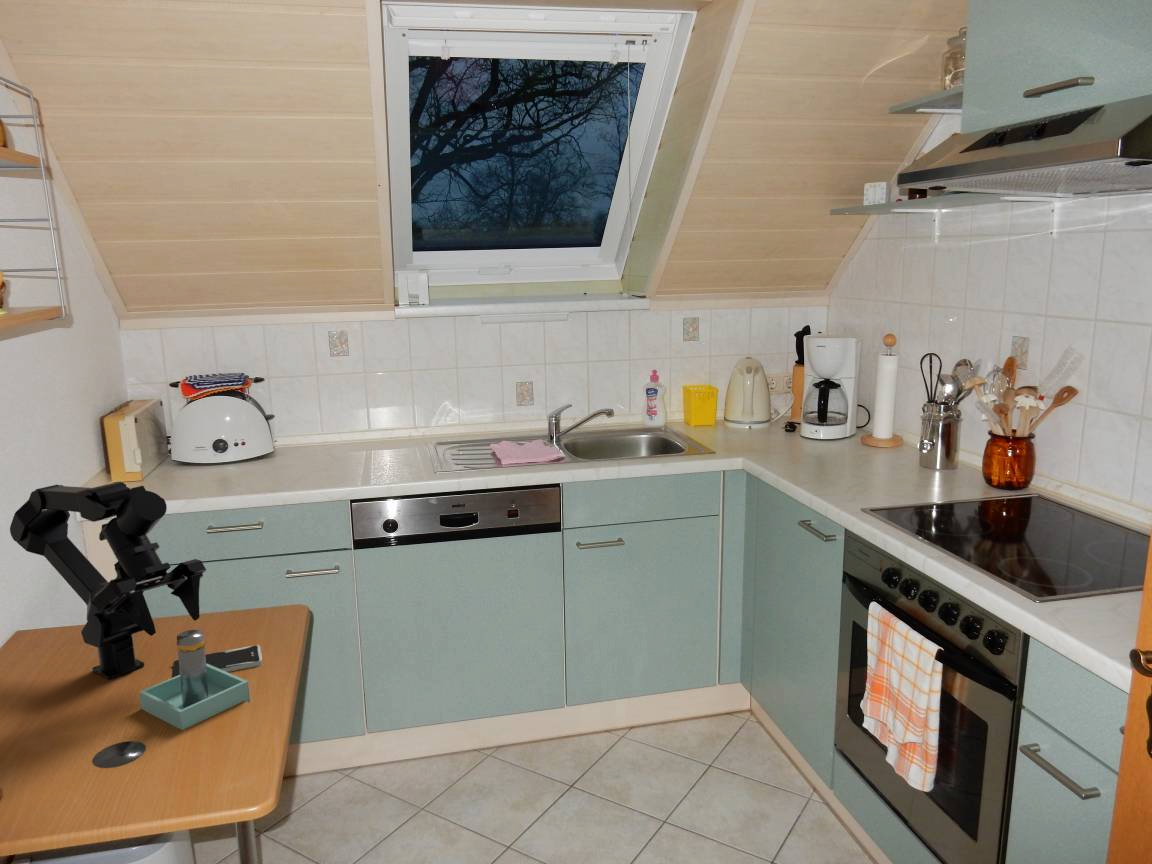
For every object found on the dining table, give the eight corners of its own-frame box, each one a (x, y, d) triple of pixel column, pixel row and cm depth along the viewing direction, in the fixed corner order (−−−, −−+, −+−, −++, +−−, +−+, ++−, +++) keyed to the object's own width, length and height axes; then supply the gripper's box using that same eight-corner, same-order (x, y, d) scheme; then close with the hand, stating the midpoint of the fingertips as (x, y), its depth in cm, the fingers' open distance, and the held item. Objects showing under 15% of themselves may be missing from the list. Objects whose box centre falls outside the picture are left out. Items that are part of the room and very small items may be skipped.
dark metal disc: (84, 761, 127) (83, 757, 127) (130, 739, 133) (130, 736, 133) (108, 776, 123) (107, 773, 123) (155, 753, 129) (155, 750, 129)
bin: (141, 712, 141) (139, 691, 140) (208, 682, 151) (206, 663, 150) (182, 733, 134) (180, 712, 133) (250, 701, 144) (248, 681, 143)
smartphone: (173, 660, 158) (259, 644, 164) (174, 667, 158) (260, 650, 164) (172, 678, 151) (262, 660, 157) (173, 685, 151) (263, 667, 157)
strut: (176, 708, 141) (170, 639, 138) (191, 695, 145) (185, 628, 142) (200, 710, 140) (194, 641, 138) (214, 697, 144) (209, 630, 142)
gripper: (150, 561, 159) (190, 634, 156) (56, 584, 141) (100, 667, 139) (186, 529, 155) (228, 603, 152) (94, 549, 138) (140, 633, 135)
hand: (175, 626), depth 145 cm, fingers open, 9 cm apart
